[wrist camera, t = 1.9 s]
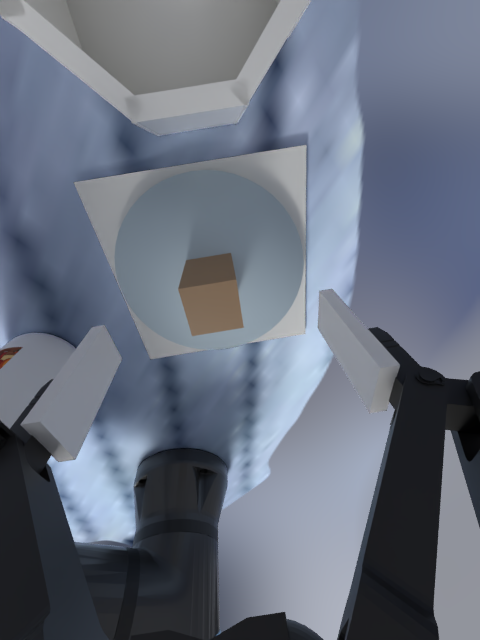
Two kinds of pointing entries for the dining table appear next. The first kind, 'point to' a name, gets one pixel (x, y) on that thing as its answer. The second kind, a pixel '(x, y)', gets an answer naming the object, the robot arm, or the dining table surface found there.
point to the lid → (209, 260)
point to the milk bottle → (28, 370)
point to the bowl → (163, 53)
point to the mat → (262, 168)
